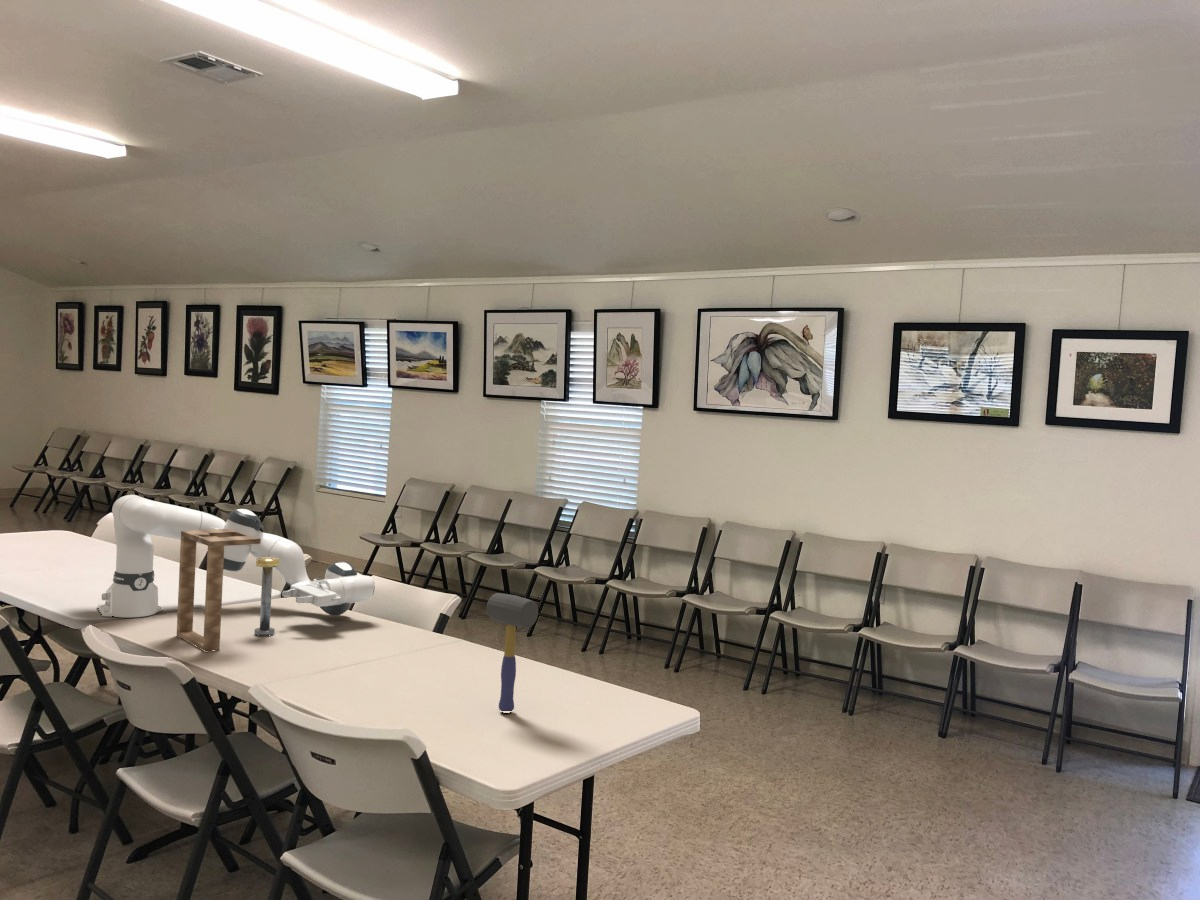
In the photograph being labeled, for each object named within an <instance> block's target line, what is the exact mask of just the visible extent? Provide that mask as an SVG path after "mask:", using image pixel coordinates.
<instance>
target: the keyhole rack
mask: <svg viewBox="0 0 1200 900" xmlns="http://www.w3.org/2000/svg"><path fill="white" fill-rule="evenodd" d="M196 542H199V543H202V544H201V545H204V546H205V545H206V546H207V555H206V556H207V557H206V573H205V574H206V578H205V598H204V599H205V602H204V620H203V623H204V625H203V635H201V634H199V633H198V632H196V631H194V630H193V628H194V627H193V626H194V607H195V606H194V604H195V582H196V562H197V560H196V558H197V543H196ZM199 543H198V544H199ZM260 543H261V539H260V538H257V537H254V536H250V535H247V534H244V533H241V532H238V531H235V530H232V529H213V530H192V531H181V540H180V546H179V547H180V549H179V570H178V571H179V573H178V592H177V593H178V594H177V615H176V616H177V617H176V618H177V619H176V637H178V636H179V637H181V638H183V639H184V640H183V639H182V640H183V641H185V640H186V641H185V642H187V641H188V642H190V643H192V644H194V645H196V646H197V647H199V648H201V649H203V650H205V651H212V650H219V651H221V650H220V648H221V647H220V646H221V625H222V605H223V604H222V602H223V600H222V599H223V585H224V584H223V581H224V570H223V563H224V546H231V545H248V544H260ZM179 637H178V638H179ZM181 638H180V639H181ZM188 642H187V643H188ZM190 643H189V644H190ZM192 644H191V645H192ZM194 645H193V646H194ZM197 647H196V648H197ZM199 648H198V649H199ZM201 649H200V650H201ZM203 650H202V651H203ZM212 652H213V651H212Z"/></svg>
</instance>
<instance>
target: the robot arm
mask: <svg viewBox="0 0 1200 900" xmlns="http://www.w3.org/2000/svg"><path fill="white" fill-rule="evenodd" d="M111 513H112V517H113V528H114V537H115V542H116V543H115V545H116V558H115V559H116V560H115V561H116V562H115V563H116V564H115V571H114V574H113V578H112V584H111V585H110V586H109V587H108V588H107V589H106V591H105V593H102V594H101V601H105V602H103V603H98V604H97V607H98V608H99V609H98V608H97V609H98V611H99V610H100V611H99V613H100V612H101V613H100V615H101V614H102V615H101V617H112V616H114V617H116V618H142V617H148V616H152V615H155V614H156V613H158V612H161V611H163V607H162V606H159V588H158V586H157V585H156V584H154V581H155V571H154V551H155V549H154V544H153V539H152V536H155V537H156V536H158V537H163V538H168V539H169V538H170V539H174V540H178V541H179V540H180V541H181V531H192V530H213V529H232V530H235V531H238V532H241V533H244V534H247V535H250V536H254V537H257V538H260V539H261V543H260V544H248V545H231V546H224V563H223V572H224V571H225V572H239V571H241V570H242V569H244V567H245V564H246V562H247V558H248V557H249V555H251V556H252V557H253V558H255V559H257V558H261V557H274V558H279V559H280V564H279V566H278V567H273V570H275V571H276V572H278V573H279V574H280V575H281V577H282V578H283V579H284V581H285V583H286V585H288V587H290V588H289V589H288V590H283V591H282V594H281V595H282V596H281V597H283V598H290V597H294V598H295V602H296V603H297V604H310V605H313V606H315V607H319V608H320V609H321V610H322V611H323V612H324V613H325V614H327V615H330V616H335V617H336V616H341V615H343V614H344V613H346V612H347V611H348V610H349V609H351V604H354V603H356V604H357V603H360V602H366V601H367V600H370V599H371V598H373V596H374V594H375V587H376V585H375V584H376V583H375V581H374V578H373V577H372V576H370V575H364V574H361V573H359V572H357V570H356V569H355V568H354V567H353V566H352V564H351V563H349V562H346V561H336V562H333V563H330V564H329V565H328V566H327V567H326V571H325V574H324V578H314V579H313V581H312V580H311V579H310V578H309V575H308V573H307V569H306V562H305V554H304V551H303V549H302V547H301V546H300V545H299V544H298V543H296V542H295V541H292V540H290V539H288V538H285V537H283V536H279V535H276V534H273V533H267V532H262V531H261V530H264V525H263V524H262V521H261V520H260V518H259V516H258V515H257V514H255V513H254V512H253V511H252V510H249V509H245V508H235V509H233V510H231V511H230V513H229V514H228V516H227V520H226V521H225V520H224V519H222V518H220V517H218V516H216V515H214V514H211V513H208V512H205V511H202V510H201V511H200V510H196V509H192V508H188V507H183V506H179V505H175V504H170V503H166V502H165V503H164V502H160V501H156V500H152V499H149V498H146V497H142V496H139V495H137V494H127V495H124V496H120V497H119V498H118V499H116V500H115V501H114V502H113V505H112V509H111ZM196 544H200V545H203V544H202V543H199V542H196Z"/></svg>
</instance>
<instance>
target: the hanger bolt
mask: <svg viewBox="0 0 1200 900" xmlns="http://www.w3.org/2000/svg"><path fill="white" fill-rule="evenodd" d="M255 559H256V558H255ZM279 564H280V559H279V558H274V557H261V558H257V559H256V560H255V566H256V567H259V568H262V572H261V594H260V595H261V596H260V615H259V617H260V618H259V627H256V628H255V629H254V630H253V631H254V634H255V635H259V636H258V637H260V636H267V637H270V636H269V635H272V636H274V635H275V631H276V630H275V628H273V627H271V610H272V608H271V607H272V590H273V587H272V586H273V571H274V568H273V567H278V566H279ZM273 634H274V635H273ZM255 635H254V636H255Z"/></svg>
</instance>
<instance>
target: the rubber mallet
mask: <svg viewBox="0 0 1200 900" xmlns="http://www.w3.org/2000/svg"><path fill="white" fill-rule="evenodd" d="M486 614H487V616H488V617H489V618H490V619H491V620H493V621H495V622H498V623H501V624H505V625H506V627H505V641H504V654H503V658H502V662H501V667H500V668H501V669H500V682H501V685H500V698H499V702H498V709H499V711H500V710H501V711H512V710H513V711H514V709H515V703H514V701H515V700H514V692H515V691H514V690H515V682H516V675H517V674H516V673H517V661H516V660H517V659H516V655H515V653H516V652H515V650H516V631H517V627H518V628H519V627H520V628H524V629H525V628H526V629H527V628H528V629H529V628H531V627H532V626H533V625H535V623H536V621H537V619H538V616H539V608H538V604H537V603H536V602H535V601H533V600H532V599H529V598H525V597H521V596H519V595H515V594H508V593H502V592H500V593H499V592H497V593H493V594H492V595H491V596H490V597H489V599H488V601H487V603H486ZM513 711H512V712H513Z"/></svg>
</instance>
